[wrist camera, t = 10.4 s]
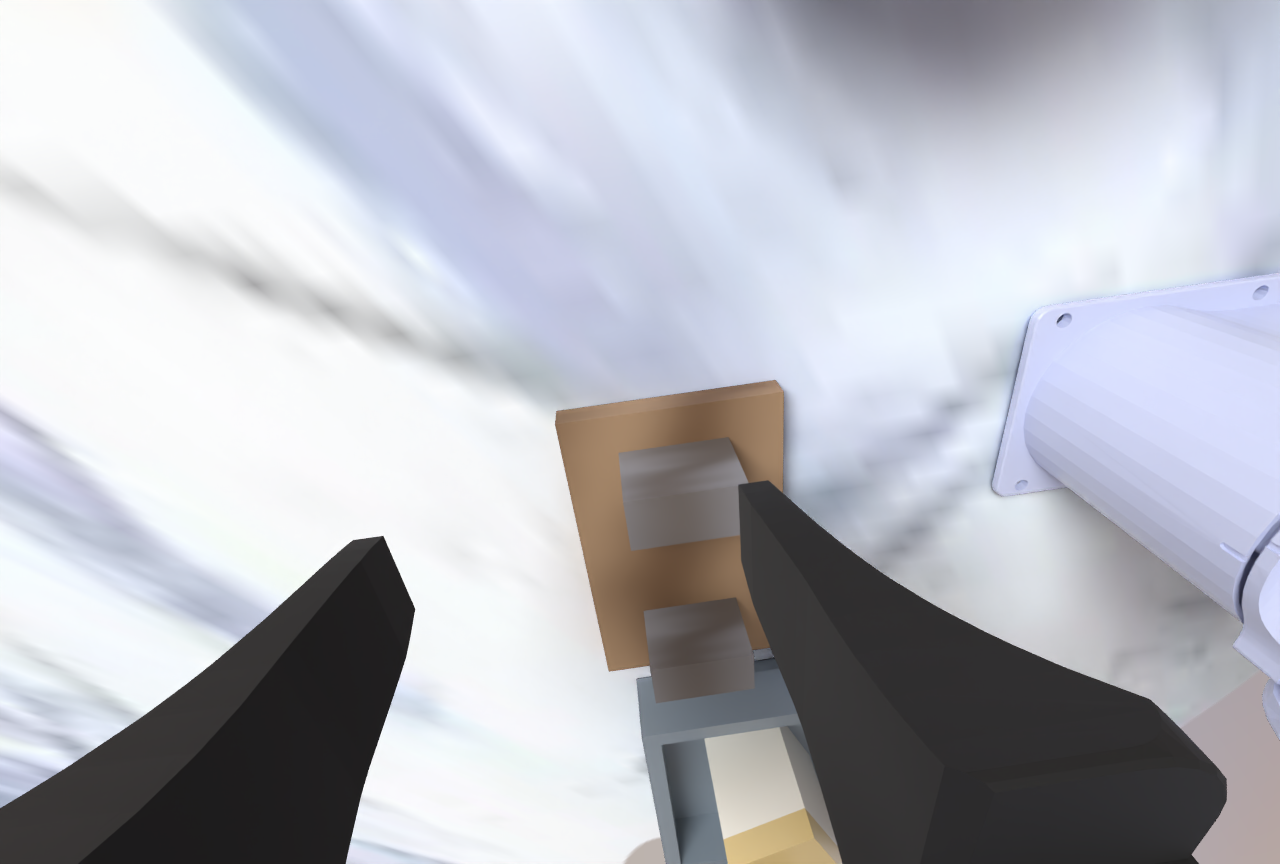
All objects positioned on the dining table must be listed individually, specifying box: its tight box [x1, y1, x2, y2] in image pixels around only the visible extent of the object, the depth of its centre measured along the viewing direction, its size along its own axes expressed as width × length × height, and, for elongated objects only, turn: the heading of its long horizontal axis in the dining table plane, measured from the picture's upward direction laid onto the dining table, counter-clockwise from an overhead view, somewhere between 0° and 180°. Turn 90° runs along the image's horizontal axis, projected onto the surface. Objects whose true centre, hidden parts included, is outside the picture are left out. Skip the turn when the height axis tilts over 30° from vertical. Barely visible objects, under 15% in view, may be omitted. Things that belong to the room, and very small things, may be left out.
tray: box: [637, 658, 819, 864], centre depth 30 cm, size 12×13×3 cm
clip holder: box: [555, 380, 784, 703], centre depth 22 cm, size 8×13×4 cm, turn 7°
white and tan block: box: [704, 726, 842, 864], centre depth 28 cm, size 4×5×6 cm
